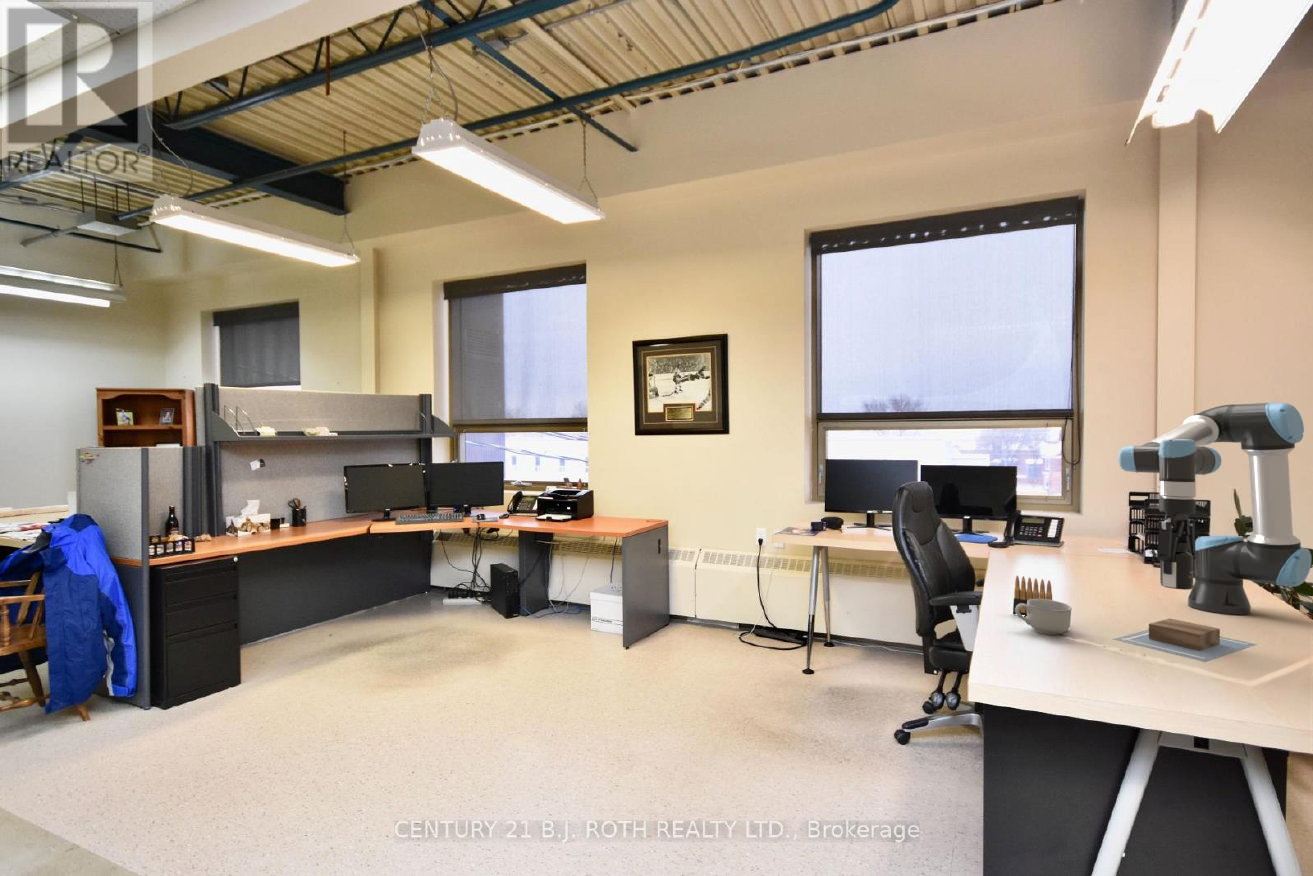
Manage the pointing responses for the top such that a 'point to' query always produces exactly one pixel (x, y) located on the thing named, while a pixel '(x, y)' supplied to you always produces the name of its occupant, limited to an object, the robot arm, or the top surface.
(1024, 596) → the ammunition clip
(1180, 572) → the supplement bottle
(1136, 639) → the board
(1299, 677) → the top surface
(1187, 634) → the walnut plinth
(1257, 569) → the robot arm
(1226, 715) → the top surface
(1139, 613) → the top surface
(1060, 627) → the teacup
